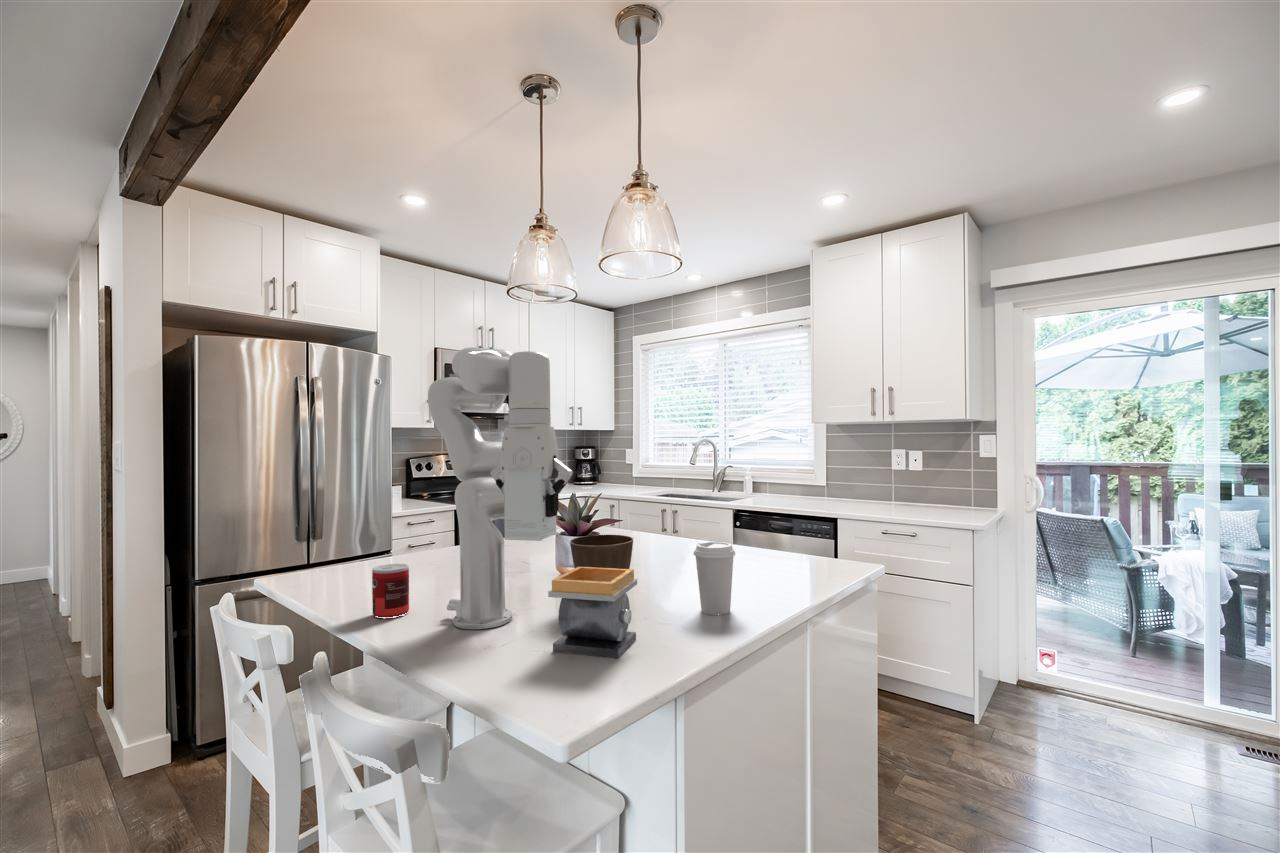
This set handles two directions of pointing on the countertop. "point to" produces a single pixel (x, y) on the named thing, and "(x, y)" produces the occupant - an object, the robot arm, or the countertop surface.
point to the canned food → (390, 590)
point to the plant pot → (602, 551)
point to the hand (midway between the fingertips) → (531, 515)
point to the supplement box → (526, 506)
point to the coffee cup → (715, 576)
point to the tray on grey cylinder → (594, 611)
